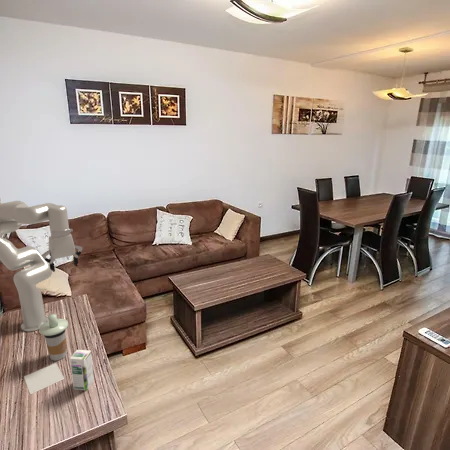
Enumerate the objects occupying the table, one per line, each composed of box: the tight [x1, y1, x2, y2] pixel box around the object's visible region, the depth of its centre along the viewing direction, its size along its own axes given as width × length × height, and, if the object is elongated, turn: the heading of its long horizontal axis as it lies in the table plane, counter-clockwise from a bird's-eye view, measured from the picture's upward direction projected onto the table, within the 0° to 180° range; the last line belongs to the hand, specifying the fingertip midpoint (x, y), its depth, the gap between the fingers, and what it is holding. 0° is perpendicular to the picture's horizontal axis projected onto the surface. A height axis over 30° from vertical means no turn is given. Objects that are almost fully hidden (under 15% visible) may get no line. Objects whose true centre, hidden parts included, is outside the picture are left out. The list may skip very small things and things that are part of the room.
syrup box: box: [69, 349, 95, 391], centre depth 119 cm, size 6×6×14 cm
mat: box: [23, 362, 65, 396], centre depth 123 cm, size 12×12×1 cm
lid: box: [38, 313, 69, 336], centre depth 131 cm, size 11×11×6 cm
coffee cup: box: [43, 328, 67, 362], centre depth 134 cm, size 8×8×15 cm
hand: (64, 267), depth 141 cm, fingers open, 9 cm apart
